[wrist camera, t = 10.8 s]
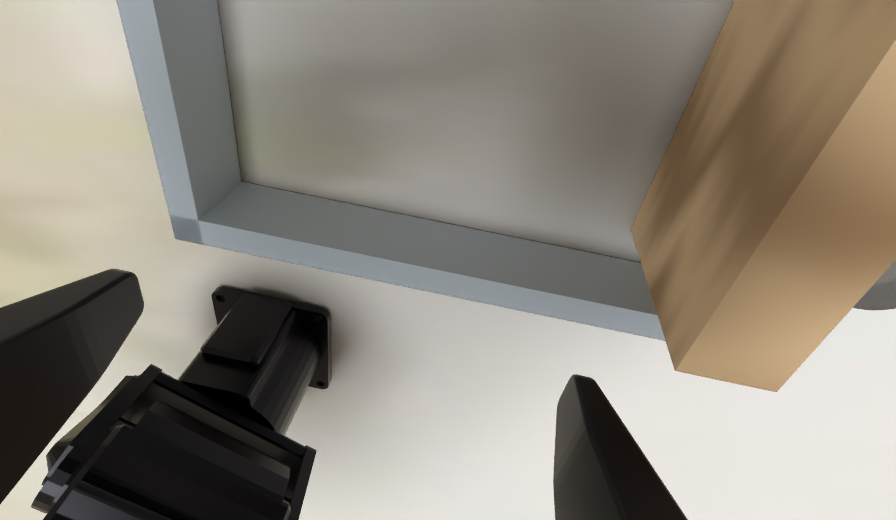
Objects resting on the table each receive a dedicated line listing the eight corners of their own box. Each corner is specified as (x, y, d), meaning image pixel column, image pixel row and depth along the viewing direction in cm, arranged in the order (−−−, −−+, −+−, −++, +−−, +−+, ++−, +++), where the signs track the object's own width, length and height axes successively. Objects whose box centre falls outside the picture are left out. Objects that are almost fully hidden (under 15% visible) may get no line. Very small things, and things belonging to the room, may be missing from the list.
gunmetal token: (887, 289, 20) (918, 321, 19) (773, 266, 21) (794, 295, 19) (983, 188, 17) (1029, 216, 16) (849, 161, 18) (880, 186, 16)
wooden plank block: (699, 242, 20) (776, 392, 14) (630, 228, 20) (675, 370, 14) (874, -65, 14) (1176, -51, 7) (771, -83, 14) (978, -85, 7)
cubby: (682, 293, 22) (704, 348, 19) (219, 199, 22) (175, 238, 20) (967, -187, 12) (1100, -220, 9) (131, -331, 13) (16, -402, 10)
